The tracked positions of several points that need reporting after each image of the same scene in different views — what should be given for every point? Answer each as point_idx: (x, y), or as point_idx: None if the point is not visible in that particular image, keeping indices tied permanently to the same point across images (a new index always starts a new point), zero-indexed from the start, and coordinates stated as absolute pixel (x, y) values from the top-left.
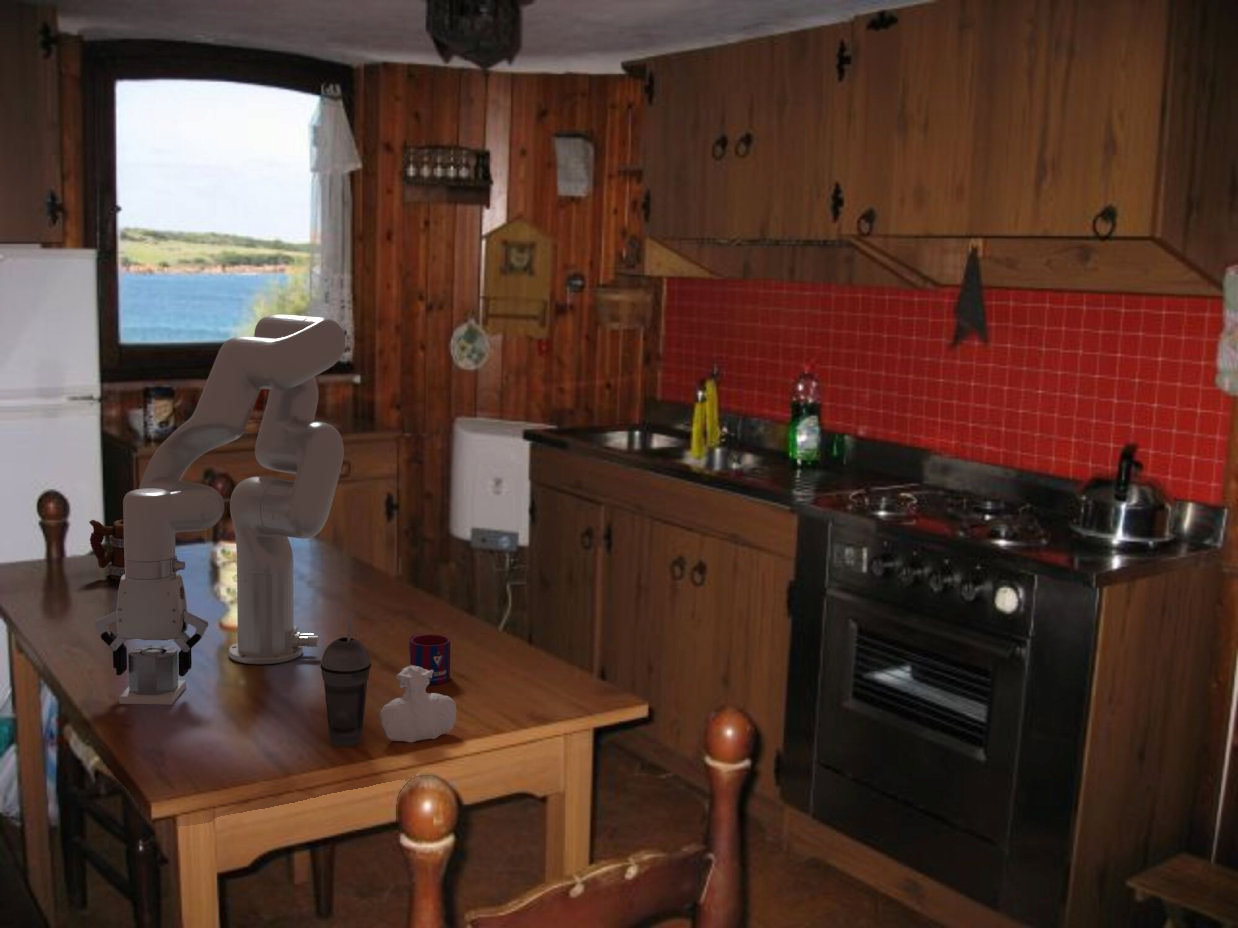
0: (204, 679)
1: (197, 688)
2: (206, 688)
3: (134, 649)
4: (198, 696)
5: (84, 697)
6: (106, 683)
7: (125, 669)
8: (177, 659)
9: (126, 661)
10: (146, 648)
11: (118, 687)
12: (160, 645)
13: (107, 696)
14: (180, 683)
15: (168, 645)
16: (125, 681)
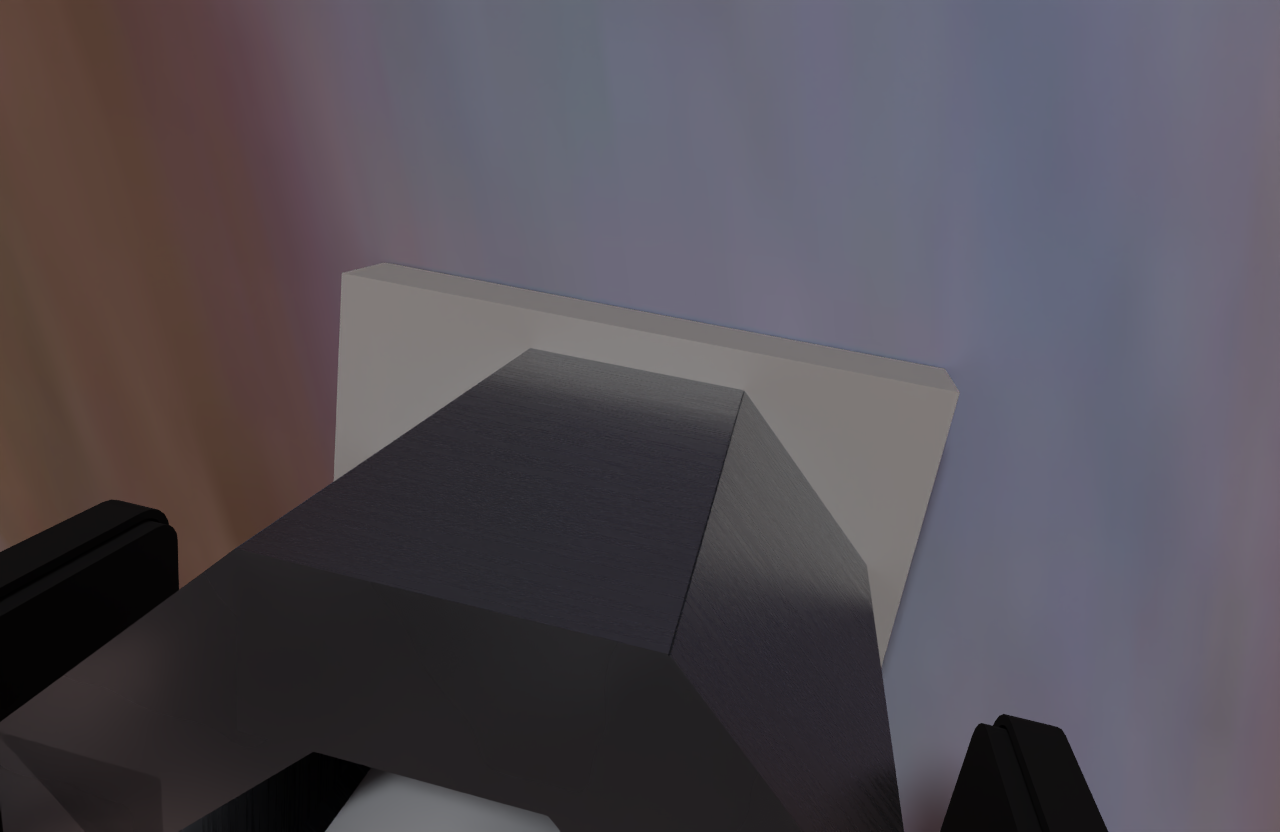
0: (1208, 55)
1: (1087, 418)
2: (1203, 435)
3: (25, 788)
4: (1087, 678)
5: (40, 501)
6: (75, 109)
7: (168, 583)
8: (897, 810)
9: (86, 585)
10: (226, 766)
11: (227, 261)
12: (476, 628)
13: (211, 510)
14: (893, 500)
15: (675, 657)
16: (238, 54)
